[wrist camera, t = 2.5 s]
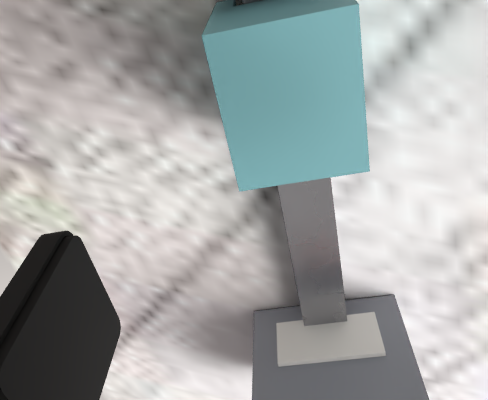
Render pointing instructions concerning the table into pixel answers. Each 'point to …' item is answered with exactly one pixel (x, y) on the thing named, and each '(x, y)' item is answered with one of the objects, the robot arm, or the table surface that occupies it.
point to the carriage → (289, 89)
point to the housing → (335, 355)
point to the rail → (314, 248)
